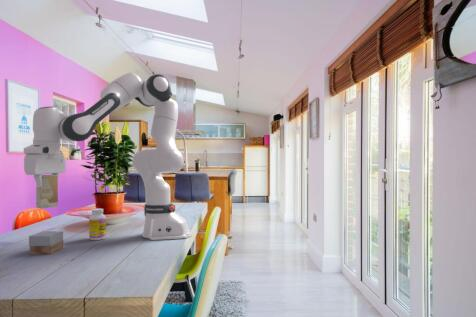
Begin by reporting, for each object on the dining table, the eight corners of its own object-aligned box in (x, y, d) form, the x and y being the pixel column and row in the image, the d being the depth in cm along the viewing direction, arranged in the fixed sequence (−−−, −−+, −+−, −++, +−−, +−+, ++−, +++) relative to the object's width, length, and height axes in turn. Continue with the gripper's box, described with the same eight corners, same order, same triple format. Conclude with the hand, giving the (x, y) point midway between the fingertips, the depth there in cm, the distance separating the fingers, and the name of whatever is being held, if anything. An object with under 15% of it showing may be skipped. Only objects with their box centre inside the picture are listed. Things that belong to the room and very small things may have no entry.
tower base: (63, 248, 125) (63, 240, 125) (51, 255, 117) (51, 245, 117) (43, 249, 125) (42, 240, 125) (29, 255, 117) (29, 245, 117)
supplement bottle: (99, 241, 135) (99, 210, 135) (85, 240, 137) (85, 210, 137) (109, 237, 142) (108, 208, 142) (95, 236, 143) (95, 207, 143)
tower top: (63, 240, 125) (63, 231, 125) (50, 245, 117) (50, 236, 117) (43, 240, 125) (43, 231, 125) (29, 245, 117) (28, 236, 117)
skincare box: (40, 209, 118) (39, 175, 118) (35, 207, 120) (35, 175, 120) (59, 206, 123) (58, 174, 123) (54, 205, 126) (53, 174, 125)
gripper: (54, 150, 132) (54, 183, 132) (20, 148, 111) (20, 188, 112) (69, 149, 132) (70, 183, 132) (38, 148, 111) (38, 188, 111)
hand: (47, 185), depth 122 cm, fingers closed on skincare box, 7 cm apart
